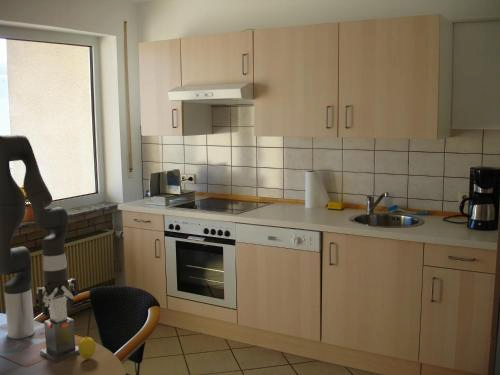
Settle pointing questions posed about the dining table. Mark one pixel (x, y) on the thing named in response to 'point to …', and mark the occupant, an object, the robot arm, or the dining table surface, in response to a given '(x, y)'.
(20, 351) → the dining table surface
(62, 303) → the column
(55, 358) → the stand base
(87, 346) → the lemon
